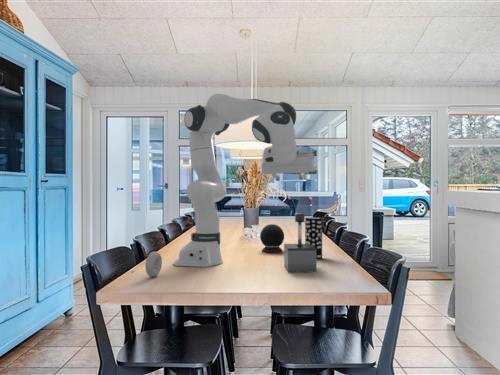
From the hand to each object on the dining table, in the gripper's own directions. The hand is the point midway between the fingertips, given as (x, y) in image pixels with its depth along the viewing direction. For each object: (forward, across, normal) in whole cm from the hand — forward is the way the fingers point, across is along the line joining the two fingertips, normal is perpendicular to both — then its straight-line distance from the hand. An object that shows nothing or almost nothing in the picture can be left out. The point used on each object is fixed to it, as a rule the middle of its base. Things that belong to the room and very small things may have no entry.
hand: (289, 179), depth 148 cm
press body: (+37, -1, +18) cm, 41 cm away
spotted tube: (+55, -6, -1) cm, 55 cm away
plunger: (+32, -2, +13) cm, 34 cm away
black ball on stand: (+64, +17, -12) cm, 67 cm away
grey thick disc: (+17, +54, +35) cm, 66 cm away
